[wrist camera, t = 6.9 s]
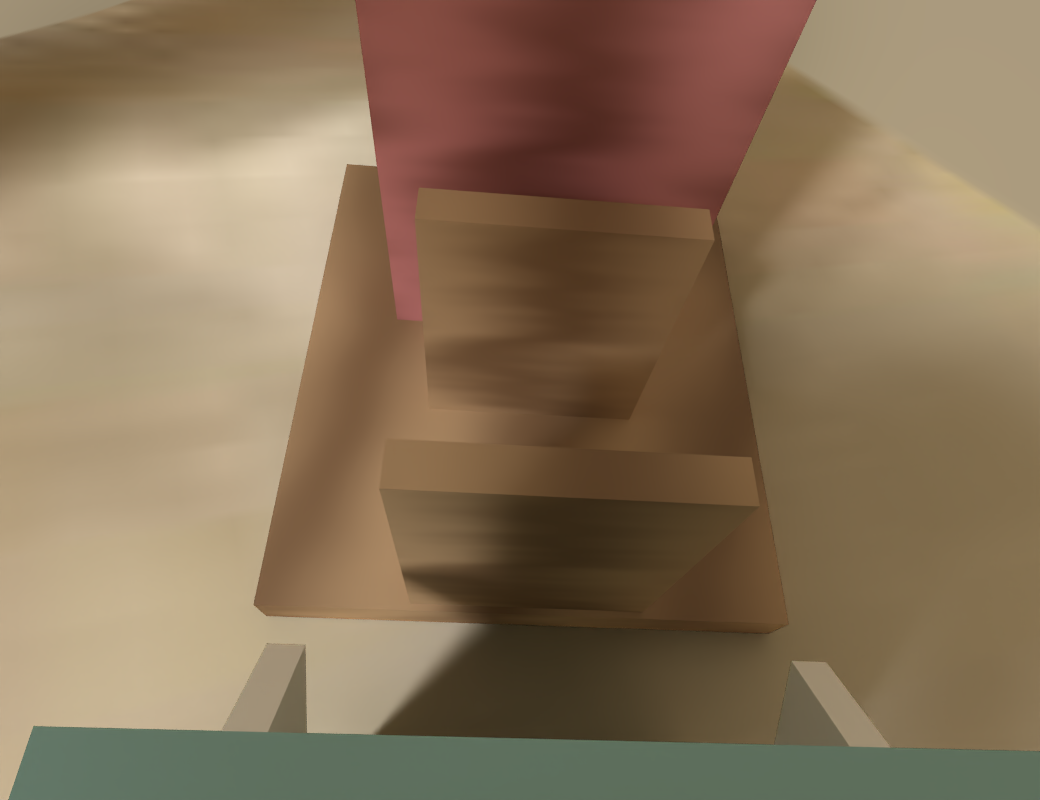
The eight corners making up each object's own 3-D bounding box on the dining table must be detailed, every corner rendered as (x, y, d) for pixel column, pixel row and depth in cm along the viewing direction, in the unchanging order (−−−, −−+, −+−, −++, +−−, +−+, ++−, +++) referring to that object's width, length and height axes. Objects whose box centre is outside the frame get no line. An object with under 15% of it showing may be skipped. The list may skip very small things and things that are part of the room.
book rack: (266, 615, 21) (-262, 164, 5) (351, 191, 30) (242, -418, 15) (768, 633, 22) (1498, 291, 6) (701, 217, 31) (938, -327, 16)
